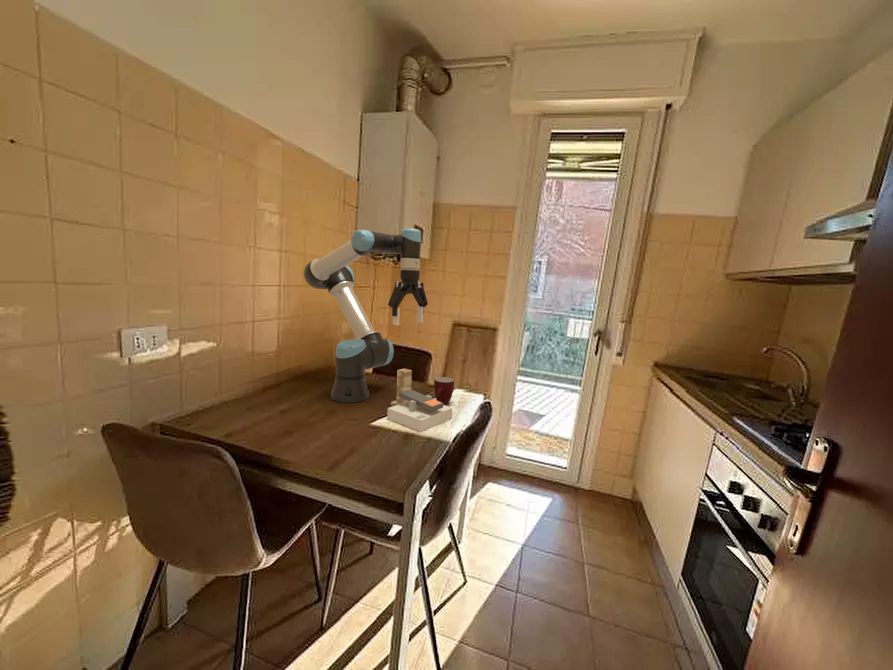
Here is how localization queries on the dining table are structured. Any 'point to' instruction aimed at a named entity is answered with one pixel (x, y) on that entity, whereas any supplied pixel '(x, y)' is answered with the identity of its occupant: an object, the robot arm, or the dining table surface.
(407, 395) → the rocker
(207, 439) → the dining table surface
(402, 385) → the wooden post with base
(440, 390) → the mug
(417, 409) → the switch box
